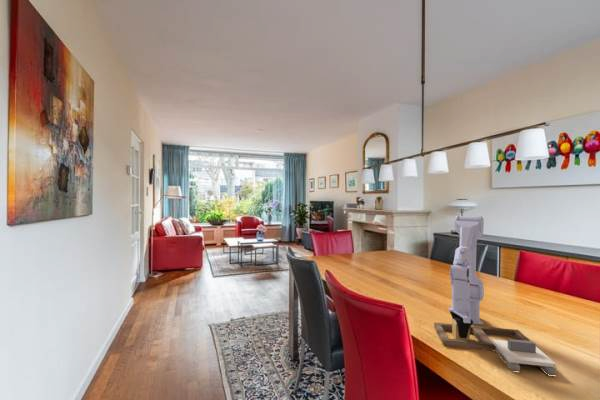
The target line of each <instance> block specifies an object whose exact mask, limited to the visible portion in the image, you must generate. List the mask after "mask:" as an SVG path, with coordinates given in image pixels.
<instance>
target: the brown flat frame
mask: <svg viewBox="0 0 600 400" xmlns="http://www.w3.org/2000/svg"><path fill="white" fill-rule="evenodd" d="M433 324H434V330H435V332H436V334H437V335H438V337H439V341H441V344H442V346H443V345H446V347H453V346H458V347H457V348H463V347H468V348H467V349H472V348H476V349H475V350H482V349H485V350H486V351H492V350H495V351H494V352H495V353H496V352H497V353H498V354H499V355H500V356H501V357H502V359H503V360H504V361H505V362H506V364H507V365H508V366H509V367H510V368H511V370H512V371H519V372H520V373H521V366H520V363H511V362H508V361H507V359H506V358H505V357H504V356H503V355H502V354H501V352H500V351H499V350H498V349H497V348H496V346H495V345H494V344H493V343H492V340H491V338H490V337H489V335H492V336H504V337H514V338H515V340H525V341H531V339H529V338H528V337H527V336H526V335H525V334H524V333H523V332H521V331H520V330H519V329H511V328H499V327H488V326H477V325H471V326H470V332H471V333H472V335H473V336H474V337H475V339H476V338H477V339H476V340H471V339H470V340H460V339H455V338H449V336H448V335H447V333H446V332H445V331H451V332H452V323H444V322H443V323H442V322H434V323H433ZM471 333H470V334H471ZM536 347H538V346H537V345H536ZM485 350H484V351H485ZM497 353H496V354H497ZM498 354H497V355H498ZM499 355H498V356H499ZM500 356H499V357H500ZM502 359H501V360H502ZM503 360H502V361H503ZM504 361H503V362H504ZM505 362H504V363H505ZM506 364H505V365H506ZM507 365H506V366H507ZM508 366H507V367H508ZM509 367H508V368H509ZM539 367H540V368H542V369H543V370H544V371H545V372H546V373H547V374H549V375H556V376H557V370H556V368H555V367H547V366H539ZM539 367H538V368H539ZM540 368H539V369H540ZM511 370H510V371H511ZM512 371H511V372H512Z"/></svg>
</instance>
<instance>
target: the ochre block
mask: <svg viewBox="0 0 600 400" xmlns="http://www.w3.org/2000/svg"><path fill="white" fill-rule="evenodd" d="M451 324H452V331H451V333H452V334H451V335H452V337H453V339H460V340H470V341H471V337H470V335H471V333H470V328H469V331H468V335H467V338H460V337H459V332H458V326H457V323H456V320H455V319H453V318H452V320H451Z"/></svg>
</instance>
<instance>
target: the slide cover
mask: <svg viewBox="0 0 600 400" xmlns="http://www.w3.org/2000/svg"><path fill="white" fill-rule="evenodd" d="M491 341H492V343H493V344H494V345H495V346H496V348H497V349H498V350H499V351H500V352H501V354H502V355H503V356H504V357H505V358H506V359H507V361H508V362H511V363H518V364H519V365H530V366H537V365H538V366H547V367H553V368H557V364H556V362H555V361H553V359H551V358H550V357H549V356H548V355H547V354H545V353H544V352H543V351H542V350H541V349H540V348H539V347H538V346H537V343H536V342H534V341H532V340H530V341H525V340H517V339H512V338H507V340H502V339H492V340H491ZM536 346H537V347H536ZM538 366H537V367H538Z"/></svg>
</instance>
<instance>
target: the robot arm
mask: <svg viewBox="0 0 600 400" xmlns="http://www.w3.org/2000/svg"><path fill="white" fill-rule="evenodd" d="M484 223H485V222H484V217H483V216H482V215H480V216H476V215H474V216H473V215H456V216H455V219H454V227H455V230H456V232H457V234H458V235H459V247H457V248H456V249H455V250H454V256H453V258H454V259H453V261H452V262H453V263H452V264H451V265H450V268H449V277H450V284H451V307H448V309H447V310H448V311H449V314H450V317H452V319H455V320H456V323H457V326H458V332H459V337H460V338H467V335H468V331H469V328H470V326H473V324H474V325H481V326H482V325H484V322H483V321H482V320H481V319H480V318H481V317H480V311H481V310H480V306H481V305H480V301H481V302H482V301H483V300H484V295H485V294H484V293H485V288H484V287H485V286H484V282H483V280H482V279H481V278H479V277H478V276H477V271H476V270H477V241H478V239H479V237H482V236H483V235H484Z"/></svg>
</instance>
